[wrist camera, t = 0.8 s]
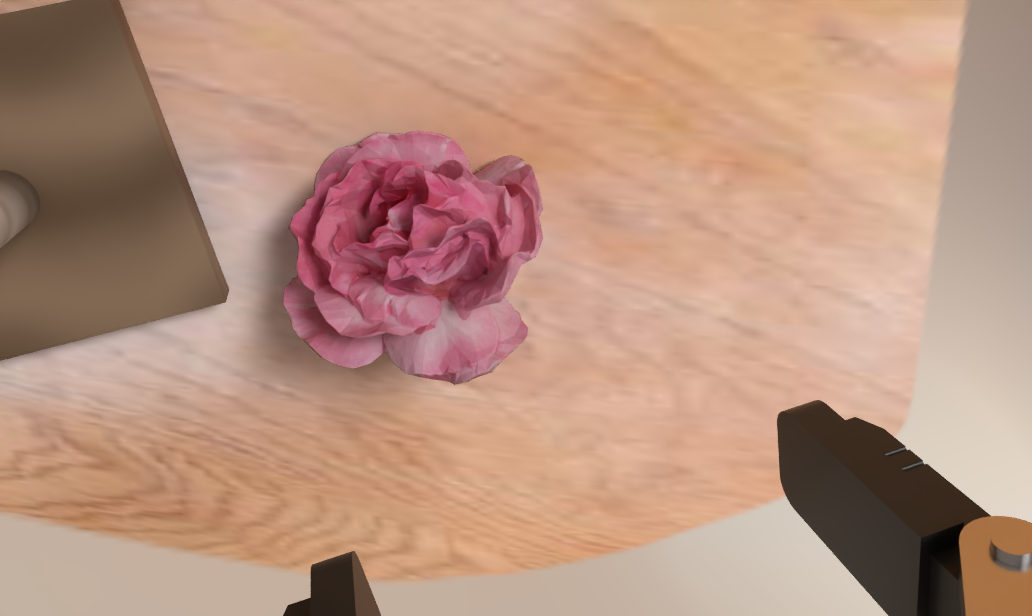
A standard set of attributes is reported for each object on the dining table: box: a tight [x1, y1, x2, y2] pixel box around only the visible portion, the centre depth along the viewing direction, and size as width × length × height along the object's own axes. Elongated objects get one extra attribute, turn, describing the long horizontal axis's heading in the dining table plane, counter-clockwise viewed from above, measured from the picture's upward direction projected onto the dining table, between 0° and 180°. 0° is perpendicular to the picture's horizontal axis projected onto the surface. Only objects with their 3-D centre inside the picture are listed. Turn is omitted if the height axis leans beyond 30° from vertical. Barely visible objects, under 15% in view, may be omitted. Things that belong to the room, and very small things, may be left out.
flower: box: [283, 131, 543, 385], centre depth 33 cm, size 11×10×10 cm
